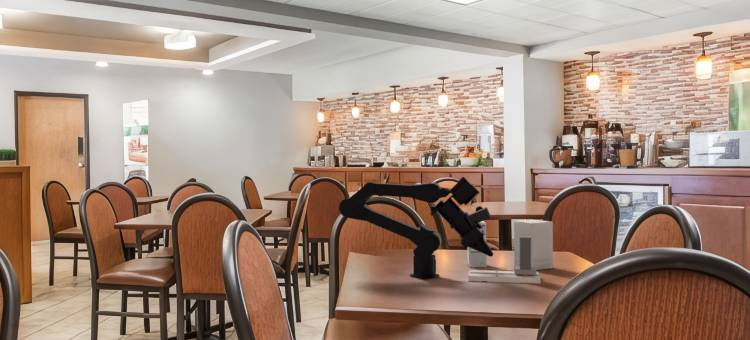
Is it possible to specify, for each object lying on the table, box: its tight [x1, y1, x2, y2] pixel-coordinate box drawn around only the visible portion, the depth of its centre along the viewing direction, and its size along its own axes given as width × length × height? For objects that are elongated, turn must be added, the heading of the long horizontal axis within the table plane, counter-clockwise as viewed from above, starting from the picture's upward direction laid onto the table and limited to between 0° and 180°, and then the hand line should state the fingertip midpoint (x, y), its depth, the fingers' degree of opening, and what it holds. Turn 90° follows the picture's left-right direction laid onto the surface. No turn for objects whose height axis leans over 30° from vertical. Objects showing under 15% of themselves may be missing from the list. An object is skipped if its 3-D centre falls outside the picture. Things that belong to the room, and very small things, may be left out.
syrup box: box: [466, 220, 488, 268], centre depth 193 cm, size 6×6×14 cm
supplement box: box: [513, 219, 554, 271], centre depth 190 cm, size 9×9×15 cm
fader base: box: [467, 269, 542, 284], centre depth 172 cm, size 20×9×2 cm, turn 79°
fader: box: [513, 235, 537, 275], centre depth 170 cm, size 6×6×11 cm
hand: (492, 255), depth 172 cm, fingers closed
